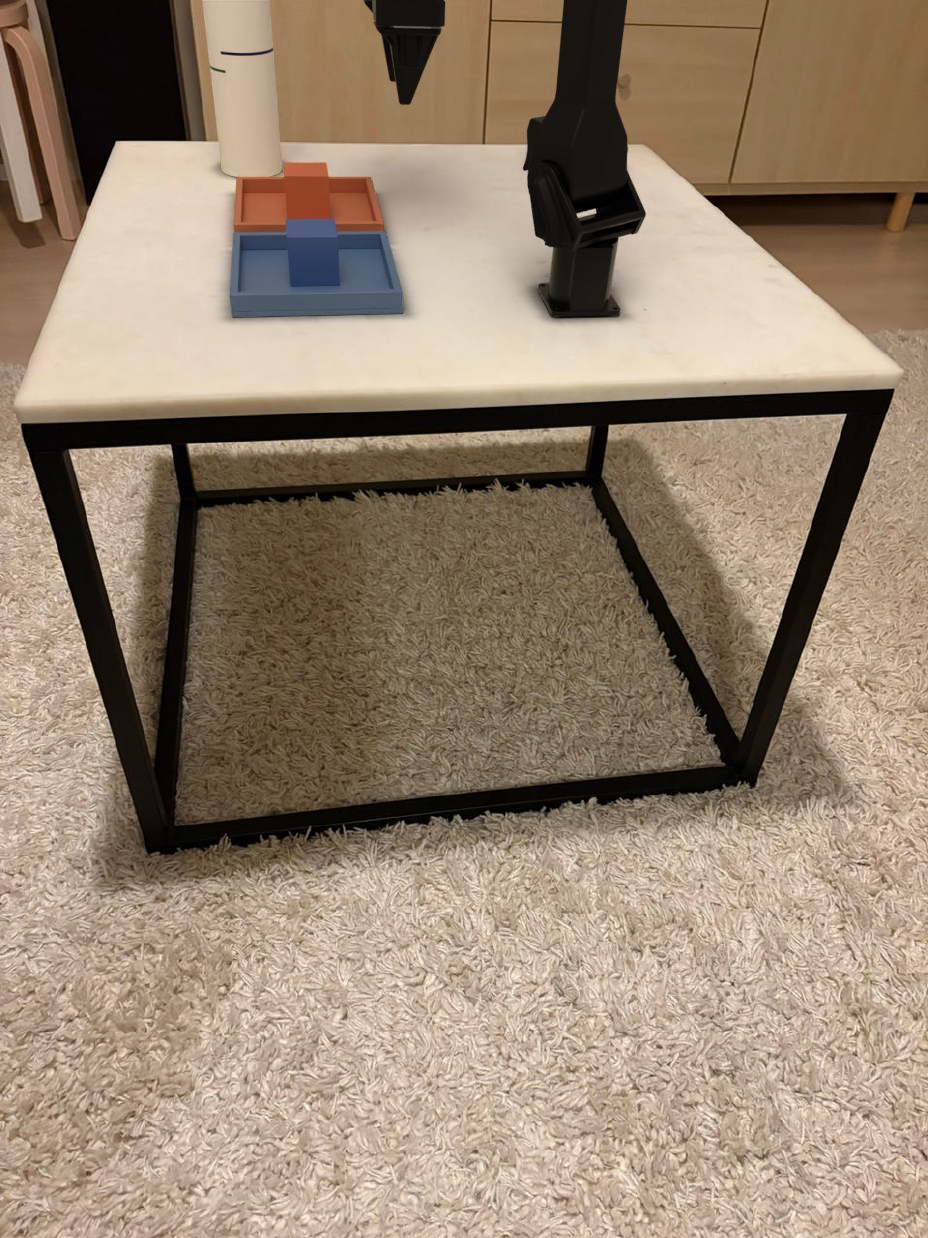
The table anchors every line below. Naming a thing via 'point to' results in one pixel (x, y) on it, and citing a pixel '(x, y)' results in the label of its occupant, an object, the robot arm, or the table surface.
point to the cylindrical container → (244, 86)
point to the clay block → (307, 190)
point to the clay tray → (266, 209)
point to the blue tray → (268, 290)
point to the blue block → (313, 252)
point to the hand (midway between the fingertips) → (399, 92)
